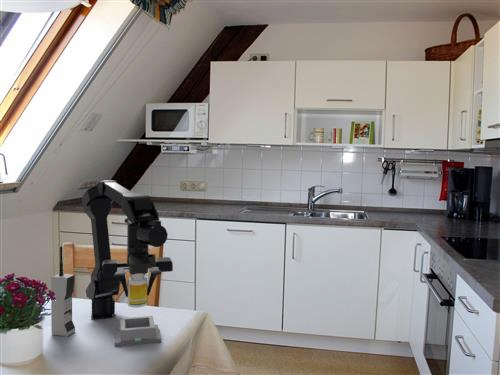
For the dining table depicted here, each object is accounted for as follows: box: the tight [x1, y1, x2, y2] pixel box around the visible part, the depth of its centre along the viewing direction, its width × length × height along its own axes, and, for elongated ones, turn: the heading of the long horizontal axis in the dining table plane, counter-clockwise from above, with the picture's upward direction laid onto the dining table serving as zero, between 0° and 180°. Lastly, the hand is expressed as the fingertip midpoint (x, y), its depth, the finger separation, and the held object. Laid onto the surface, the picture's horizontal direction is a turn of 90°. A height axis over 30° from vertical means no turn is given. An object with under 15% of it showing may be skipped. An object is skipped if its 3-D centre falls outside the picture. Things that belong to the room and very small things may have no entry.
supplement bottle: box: [127, 273, 148, 309], centre depth 120 cm, size 5×5×10 cm
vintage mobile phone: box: [50, 246, 76, 337], centre depth 121 cm, size 4×5×25 cm
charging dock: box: [114, 315, 162, 348], centre depth 121 cm, size 12×10×4 cm
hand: (137, 295), depth 120 cm, fingers closed on supplement bottle, 5 cm apart
